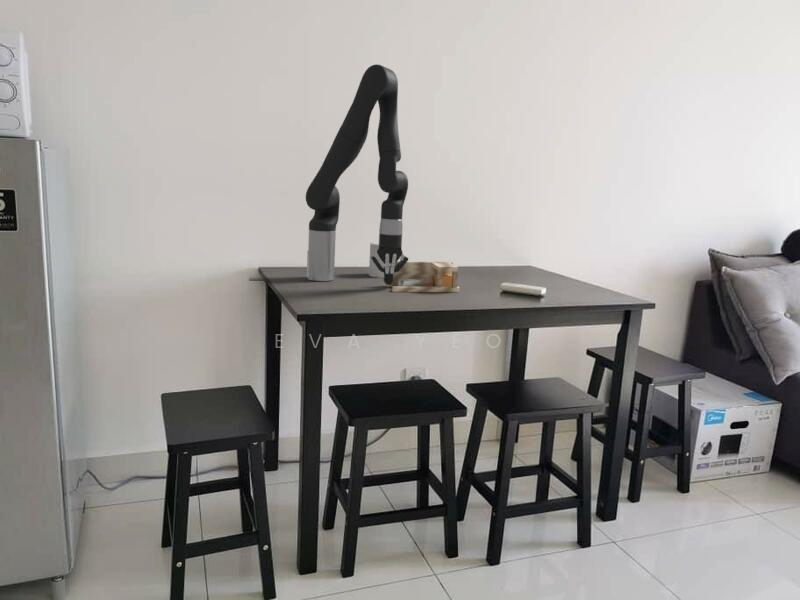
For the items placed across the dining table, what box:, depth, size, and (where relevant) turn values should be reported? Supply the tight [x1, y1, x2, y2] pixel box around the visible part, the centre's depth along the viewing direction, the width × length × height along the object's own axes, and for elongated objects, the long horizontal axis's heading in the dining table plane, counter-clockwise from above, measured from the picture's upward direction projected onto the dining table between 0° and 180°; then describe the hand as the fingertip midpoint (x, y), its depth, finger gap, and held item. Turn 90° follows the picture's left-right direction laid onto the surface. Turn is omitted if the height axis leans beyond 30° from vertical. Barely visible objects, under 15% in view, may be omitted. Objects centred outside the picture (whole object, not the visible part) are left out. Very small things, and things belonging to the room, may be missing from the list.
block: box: [433, 274, 452, 287], centre depth 214 cm, size 5×5×5 cm
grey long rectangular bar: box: [398, 278, 433, 287], centre depth 212 cm, size 12×3×4 cm, turn 123°
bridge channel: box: [385, 260, 461, 293], centre depth 212 cm, size 23×10×8 cm, turn 105°
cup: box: [368, 241, 384, 279], centre depth 232 cm, size 8×8×12 cm
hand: (388, 284), depth 210 cm, fingers closed
